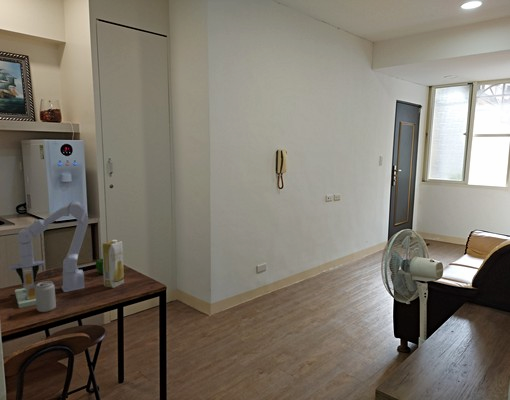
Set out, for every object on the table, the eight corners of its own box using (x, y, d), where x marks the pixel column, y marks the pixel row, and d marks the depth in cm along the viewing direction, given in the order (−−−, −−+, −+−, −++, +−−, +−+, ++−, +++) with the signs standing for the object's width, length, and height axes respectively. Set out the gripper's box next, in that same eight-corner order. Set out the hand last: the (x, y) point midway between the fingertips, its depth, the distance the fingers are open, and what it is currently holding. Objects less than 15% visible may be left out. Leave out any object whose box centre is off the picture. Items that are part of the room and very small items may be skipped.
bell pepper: (100, 276, 208) (100, 258, 206) (93, 273, 213) (92, 255, 212) (115, 272, 214) (114, 255, 213) (107, 269, 219) (106, 252, 218)
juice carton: (113, 289, 190) (111, 242, 186) (101, 286, 193) (99, 241, 189) (126, 282, 198) (124, 238, 195) (114, 280, 201) (112, 237, 198)
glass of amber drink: (36, 299, 176) (35, 282, 175) (37, 302, 173) (36, 285, 172) (26, 301, 174) (25, 284, 173) (27, 304, 171) (26, 287, 170)
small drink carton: (33, 284, 184) (31, 268, 183) (34, 287, 181) (32, 271, 180) (23, 286, 182) (22, 270, 181) (24, 288, 178) (23, 272, 177)
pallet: (41, 288, 189) (40, 285, 188) (47, 302, 173) (46, 298, 173) (15, 293, 182) (14, 289, 182) (19, 308, 166) (18, 303, 166)
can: (41, 306, 169) (39, 280, 167) (58, 305, 170) (57, 280, 168) (33, 313, 162) (31, 286, 160) (51, 312, 162) (49, 286, 161)
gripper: (42, 250, 186) (44, 276, 188) (7, 255, 178) (9, 282, 180) (44, 253, 181) (46, 281, 183) (8, 258, 172) (11, 287, 174)
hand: (28, 282), depth 181 cm, fingers closed on small drink carton, 4 cm apart
